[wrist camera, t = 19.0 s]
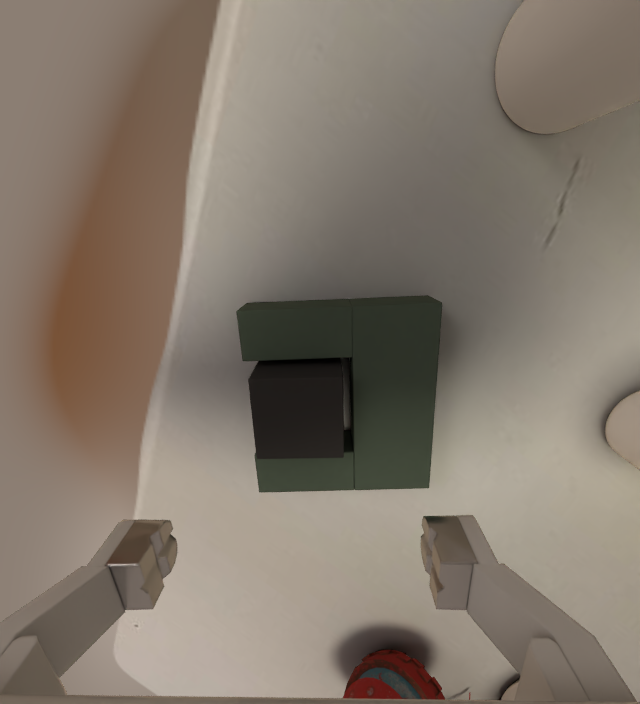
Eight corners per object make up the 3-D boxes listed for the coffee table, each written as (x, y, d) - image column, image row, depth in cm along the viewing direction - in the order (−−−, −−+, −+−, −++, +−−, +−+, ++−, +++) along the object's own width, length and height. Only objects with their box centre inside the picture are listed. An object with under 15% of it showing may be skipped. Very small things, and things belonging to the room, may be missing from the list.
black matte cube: (268, 423, 23) (256, 459, 19) (261, 354, 21) (248, 379, 17) (340, 422, 23) (344, 458, 19) (339, 352, 21) (343, 376, 17)
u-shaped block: (246, 302, 20) (236, 310, 18) (428, 295, 20) (442, 302, 17) (265, 468, 24) (259, 493, 21) (418, 463, 23) (429, 488, 21)
